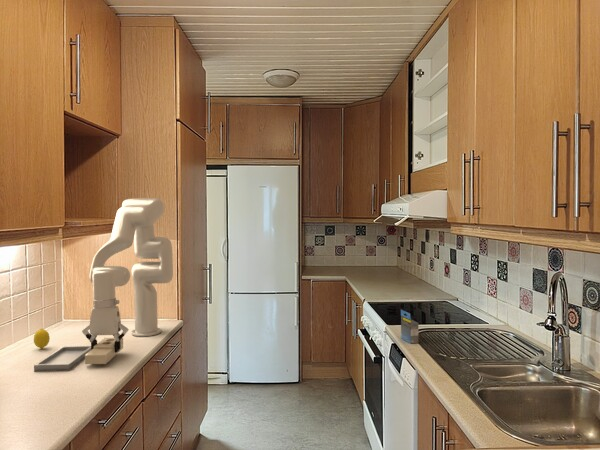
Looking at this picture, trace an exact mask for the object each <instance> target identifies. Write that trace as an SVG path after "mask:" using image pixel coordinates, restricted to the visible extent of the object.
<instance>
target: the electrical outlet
mask: <svg viewBox="0 0 600 450" xmlns="http://www.w3.org/2000/svg"><path fill="white" fill-rule="evenodd" d="M115 341H116V340H115V338H114V337H104V338H103V339H101V340H100V341H99V342H97V344H96V345H95V346H94V349H92V350H91V351H90V352H88V353H87V354H86V355H85V359H84V364H85V365H106V364H108V363H109V362H110V361H111V360H112V359H113V358H114V357H115V356H116V355H118V354H119V353H120V352H121V351H122V350H123V349H124V337H122V339H121V340H120V344H121V348H120V349H119V351H118V352H115Z"/></svg>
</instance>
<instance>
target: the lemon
mask: <svg viewBox="0 0 600 450" xmlns="http://www.w3.org/2000/svg"><path fill="white" fill-rule="evenodd" d="M50 339H51V338H50V334H49V331H47V330H46V329H43V328H39V330H37V331H36V332H35V333H34V336H33V343H34V345H35V347H37V348H39V349H40V350H43V349H44V348H45V347H47V346H48V345H49V343H50Z"/></svg>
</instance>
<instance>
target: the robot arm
mask: <svg viewBox="0 0 600 450" xmlns="http://www.w3.org/2000/svg"><path fill="white" fill-rule="evenodd" d="M164 211H165V205H164V202H163V201H162V199H161V198H156V197H154V198H153V197H137V198H136V197H133V198H126V199H124V200H123V201H122V204H121V207H120V208H118V210H117V211H116V214H115V218H114V223H113V225H112V231H111V236H110V239H109V240H108V241H107V242H106V243H105V244H103V245H102V246H101V247H100V249H98V251H97V252H96V254H95V255H94V256H93V259H92V263H91V266H90V270H89V271H90V272H89V282H90V283H91V284H92V297H93V298H92V302H93V305H92V306H93V307H92V308H91V310H90V318H89V325H87V326H86V327H85V328H83V330H82V331H81V333H82V334H83V335H84V336H85V338H87V340H88V341H89V342H90V346H91V350H92V349H94V346H95V345H96V344H97V343H98V339H97V337H98V336H113V338H115V340H116V341H115V352H118V351H119V349H120V348H121V344H120V340H121V339H122V338H124V337H125V335H126V334H127V333H128V331H129V328H128V327H126V326H125V325H124V324H122V319H121V314H120V309H119V304H120V299H117V297H116V288H117V287H124V286H126V285H127V284H128V283H129V281H130V280H131V279H130V278H132V281H133V290H134V292H133V293H134V329H132V331H131V335H132V336H135V337H151V336H156V335H160V334H161V333H162V328H160V327H158V322H159V321H158V291H157V289H156V288H155V286H154V285H153V284H168V283H170V282H171V281H172V280H173V277H174V264H173V262H174V260H173V259H174V257H173V245H172V242H171V240H170V238H168V237H165V236H155V225H154V224H155V223H156V222H157V221H158V220H160V218H161V217H162V216H163V214H164ZM133 243H134V244H133ZM132 246H133V247H134V256H135V257H137V258H139V259H147V260H150V259H151V260H154V259H155V260H159V261H138V262H136V263H134V264H133V266H132V268H131V272H130V270H129V269H128V268H127V267H125V266H121V265H119V266H116V265H115V266H113V265H112V266H111V265H106V262H107V261H108V260H109V259H110V258H111V257H112V256H115V255H116V254H118V253H120V252H123V251H125V250H128V249H129V248H131V247H132ZM121 331H122V332H121ZM120 332H121V334H120ZM118 353H119V352H118Z"/></svg>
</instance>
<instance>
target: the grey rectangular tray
mask: <svg viewBox="0 0 600 450" xmlns="http://www.w3.org/2000/svg"><path fill="white" fill-rule="evenodd" d="M90 351H91V345H82V346H81V345H78V346H77V345H75V346H73V345H71V346H61V347H60V348H58V349H56V350H55V351H54V352H52V353H51V354H49V355H47V356H45V357H44V358H42V359H41V360H39V361H38V362H36V363H35V364H34V365H33V372H67V371H68V372H70V370H72V369H73V368H75V367H76V366H77V365H78V364H79V363H81V362H82V361H84V360H85V355H86V354H87V353H88V352H90Z"/></svg>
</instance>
